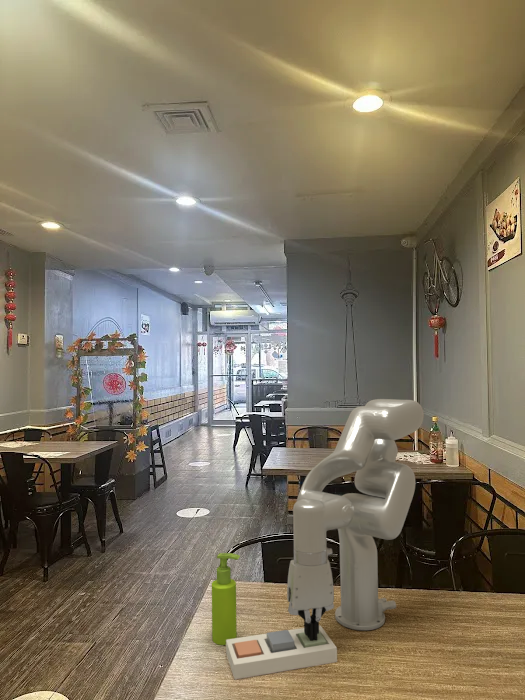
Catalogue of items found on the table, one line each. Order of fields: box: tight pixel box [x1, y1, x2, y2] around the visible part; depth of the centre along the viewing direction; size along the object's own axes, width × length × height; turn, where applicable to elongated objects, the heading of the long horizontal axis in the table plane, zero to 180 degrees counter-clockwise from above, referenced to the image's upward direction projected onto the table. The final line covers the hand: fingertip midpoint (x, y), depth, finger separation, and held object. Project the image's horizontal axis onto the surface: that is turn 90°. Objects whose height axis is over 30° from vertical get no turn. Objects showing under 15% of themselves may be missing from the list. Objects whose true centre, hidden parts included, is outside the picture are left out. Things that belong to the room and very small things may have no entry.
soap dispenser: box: [211, 552, 241, 646], centre depth 120 cm, size 6×7×20 cm
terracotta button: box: [234, 640, 262, 659], centre depth 109 cm, size 5×5×2 cm
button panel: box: [225, 625, 338, 680], centre depth 111 cm, size 23×10×3 cm, turn 104°
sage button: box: [298, 632, 326, 648], centre depth 113 cm, size 5×5×2 cm
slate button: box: [266, 629, 294, 653], centre depth 111 cm, size 5×5×2 cm
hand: (311, 637), depth 113 cm, fingers closed
